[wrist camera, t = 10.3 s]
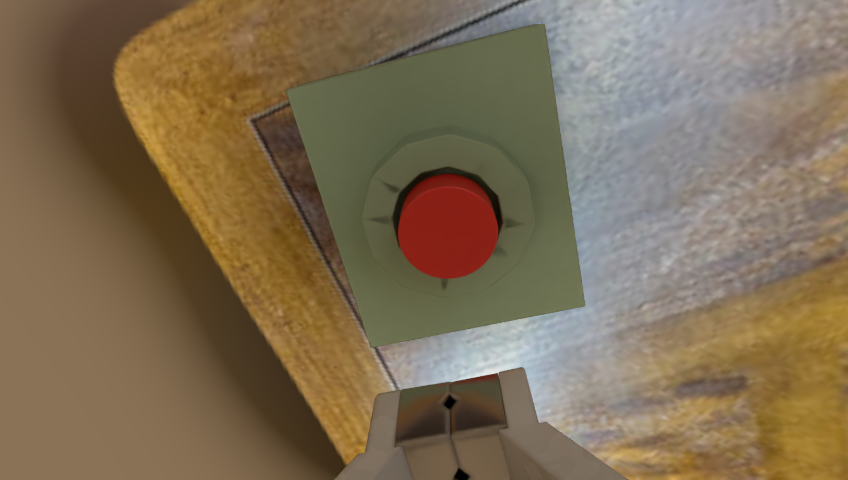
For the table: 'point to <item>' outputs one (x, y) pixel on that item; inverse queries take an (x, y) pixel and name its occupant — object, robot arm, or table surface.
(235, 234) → the table surface
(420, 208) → the button
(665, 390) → the table surface
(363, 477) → the robot arm
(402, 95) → the button housing
